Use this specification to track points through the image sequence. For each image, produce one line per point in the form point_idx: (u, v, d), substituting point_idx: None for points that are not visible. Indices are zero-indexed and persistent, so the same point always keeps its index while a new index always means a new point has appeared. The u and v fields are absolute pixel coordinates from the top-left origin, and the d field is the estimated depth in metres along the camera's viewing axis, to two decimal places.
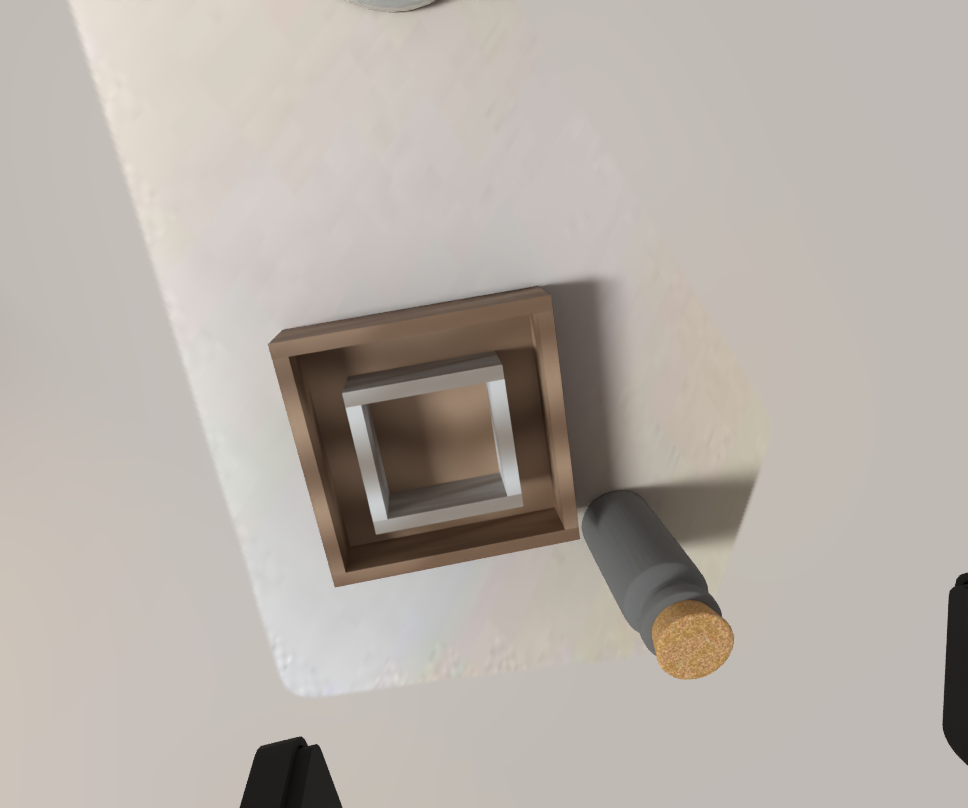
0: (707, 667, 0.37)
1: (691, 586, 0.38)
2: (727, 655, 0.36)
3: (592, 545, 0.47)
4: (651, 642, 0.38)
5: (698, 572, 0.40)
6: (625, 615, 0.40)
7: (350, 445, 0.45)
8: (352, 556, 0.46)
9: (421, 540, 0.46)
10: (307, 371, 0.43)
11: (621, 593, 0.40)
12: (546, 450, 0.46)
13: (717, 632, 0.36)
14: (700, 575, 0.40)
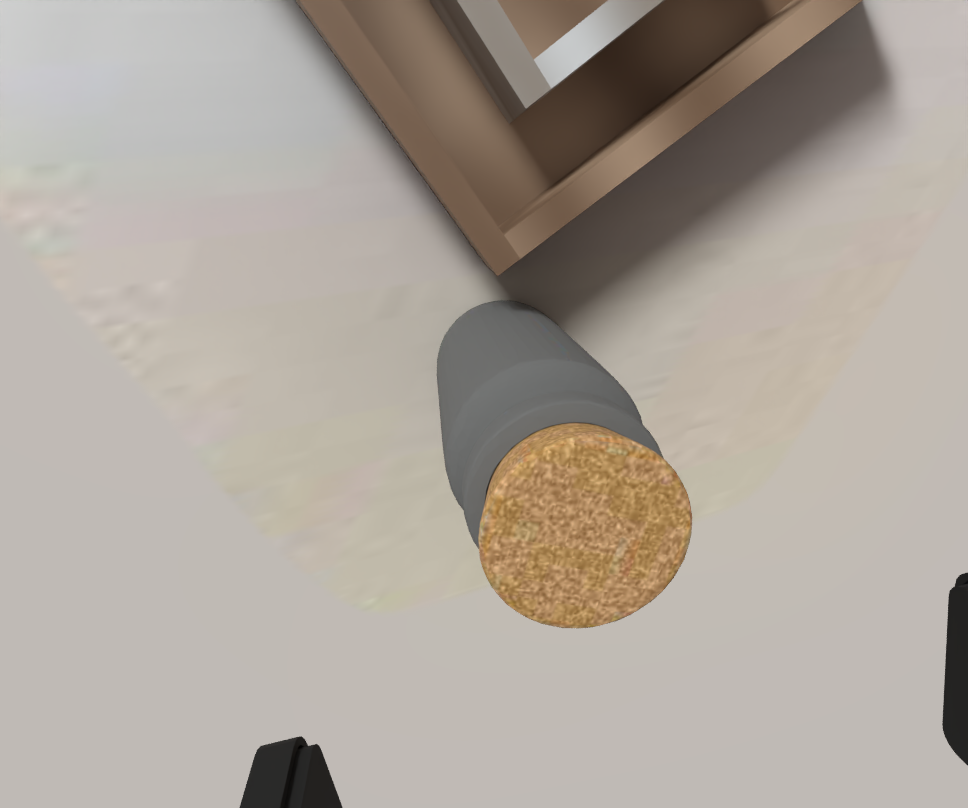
0: (543, 599, 0.14)
1: None
2: (594, 621, 0.14)
3: (478, 321, 0.23)
4: (501, 453, 0.14)
5: None
6: (475, 393, 0.17)
7: None
8: None
9: None
10: None
11: (512, 360, 0.17)
12: (593, 151, 0.24)
13: (649, 560, 0.14)
14: None
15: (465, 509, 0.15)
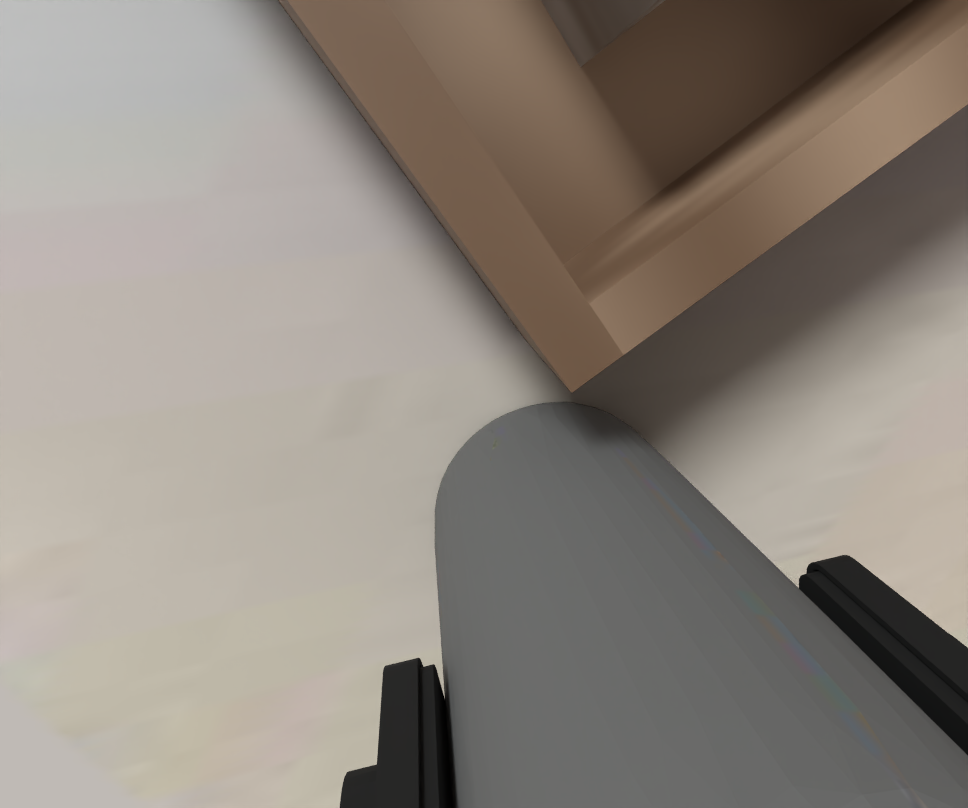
0: None
1: None
2: None
3: (521, 470, 0.11)
4: None
5: None
6: None
7: None
8: None
9: None
10: None
11: (702, 777, 0.05)
12: (743, 125, 0.12)
13: None
14: None
15: None
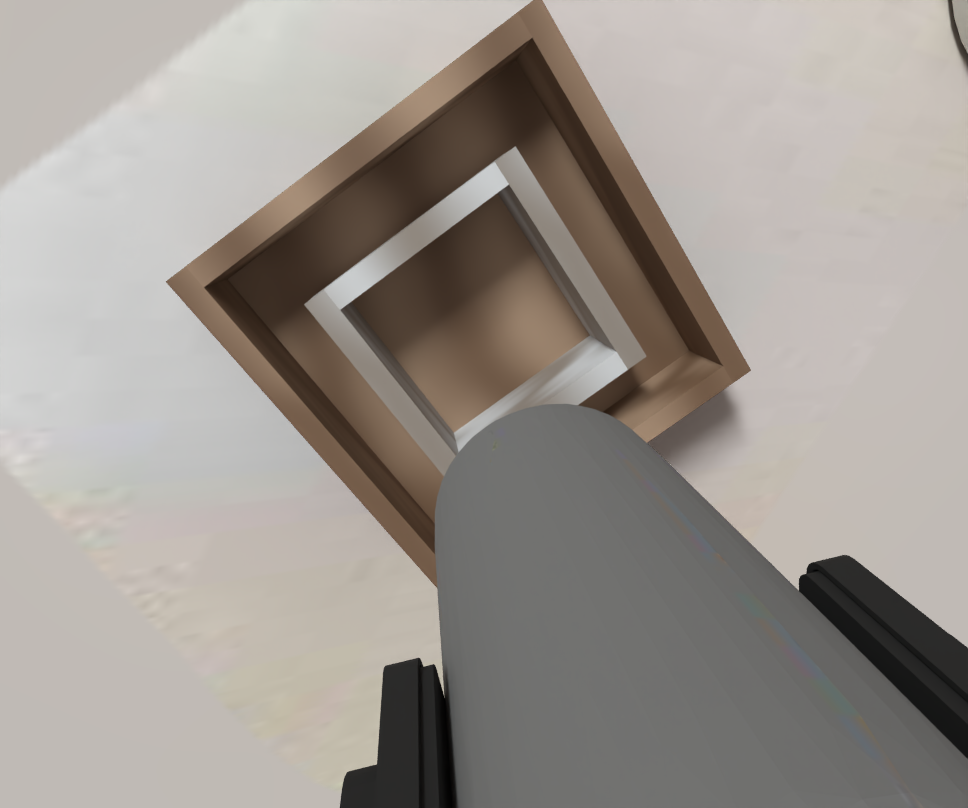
0: None
1: None
2: None
3: (521, 472, 0.11)
4: None
5: None
6: None
7: (396, 205, 0.28)
8: (223, 288, 0.27)
9: (303, 379, 0.28)
10: (482, 91, 0.27)
11: (702, 781, 0.05)
12: None
13: None
14: None
15: None
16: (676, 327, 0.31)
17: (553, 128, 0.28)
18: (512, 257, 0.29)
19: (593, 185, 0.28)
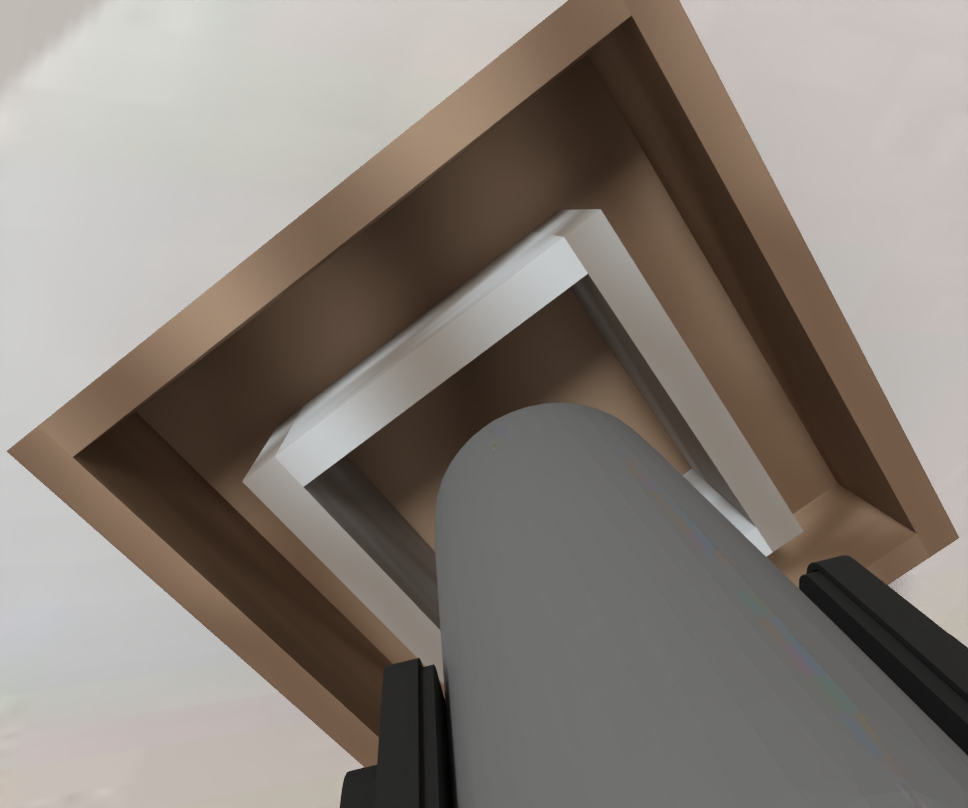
0: None
1: None
2: None
3: (522, 471, 0.11)
4: None
5: None
6: None
7: (396, 291, 0.18)
8: (121, 436, 0.17)
9: (259, 560, 0.18)
10: (531, 107, 0.17)
11: (703, 779, 0.05)
12: None
13: None
14: None
15: None
16: (821, 453, 0.21)
17: (644, 163, 0.17)
18: (577, 361, 0.19)
19: (706, 251, 0.18)
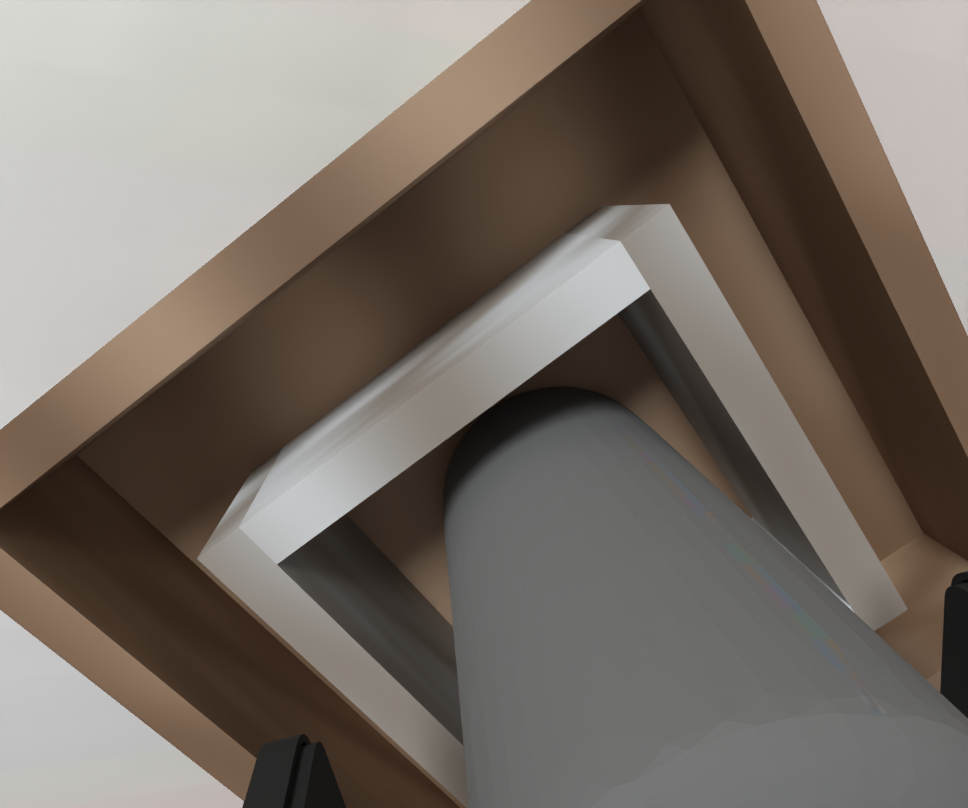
0: None
1: None
2: None
3: (527, 446, 0.12)
4: None
5: None
6: None
7: (397, 306, 0.14)
8: (51, 490, 0.13)
9: (229, 636, 0.15)
10: (567, 76, 0.13)
11: (688, 689, 0.06)
12: None
13: None
14: None
15: None
16: (907, 498, 0.17)
17: (707, 148, 0.14)
18: (618, 391, 0.15)
19: (781, 256, 0.14)
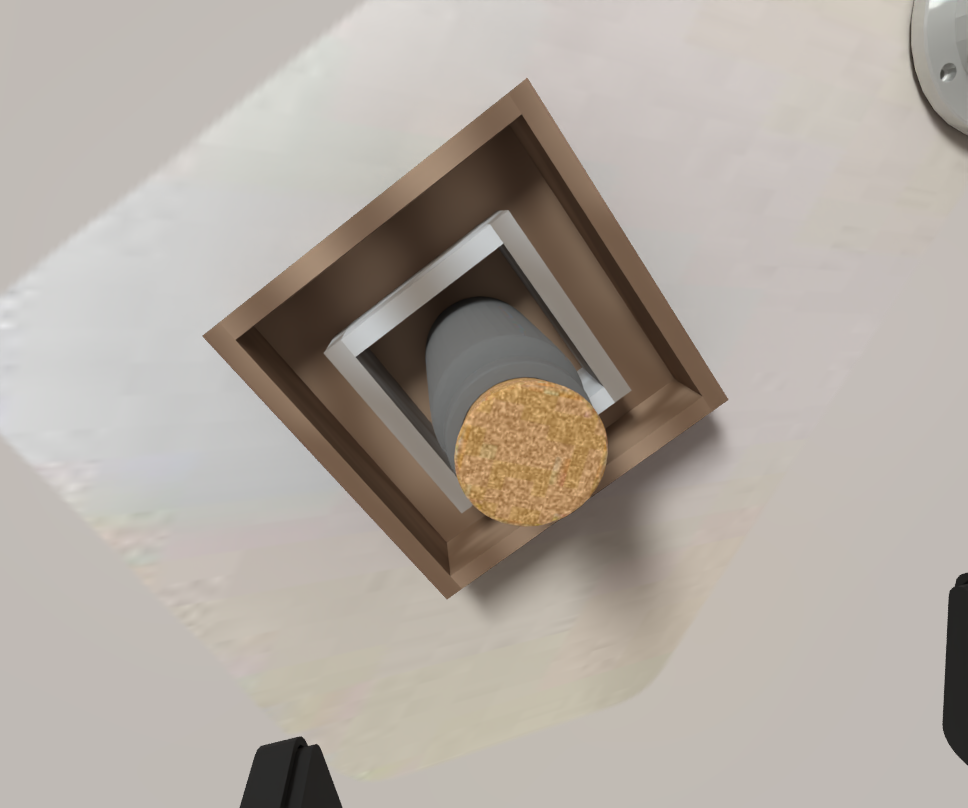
0: (502, 503, 0.19)
1: None
2: (540, 521, 0.19)
3: (459, 312, 0.29)
4: (471, 400, 0.20)
5: None
6: (453, 361, 0.22)
7: (403, 257, 0.31)
8: (251, 336, 0.30)
9: (323, 414, 0.32)
10: (479, 153, 0.30)
11: (482, 336, 0.22)
12: None
13: (578, 474, 0.19)
14: None
15: (445, 443, 0.20)
16: (661, 358, 0.34)
17: (544, 184, 0.31)
18: (509, 299, 0.32)
19: (582, 234, 0.31)
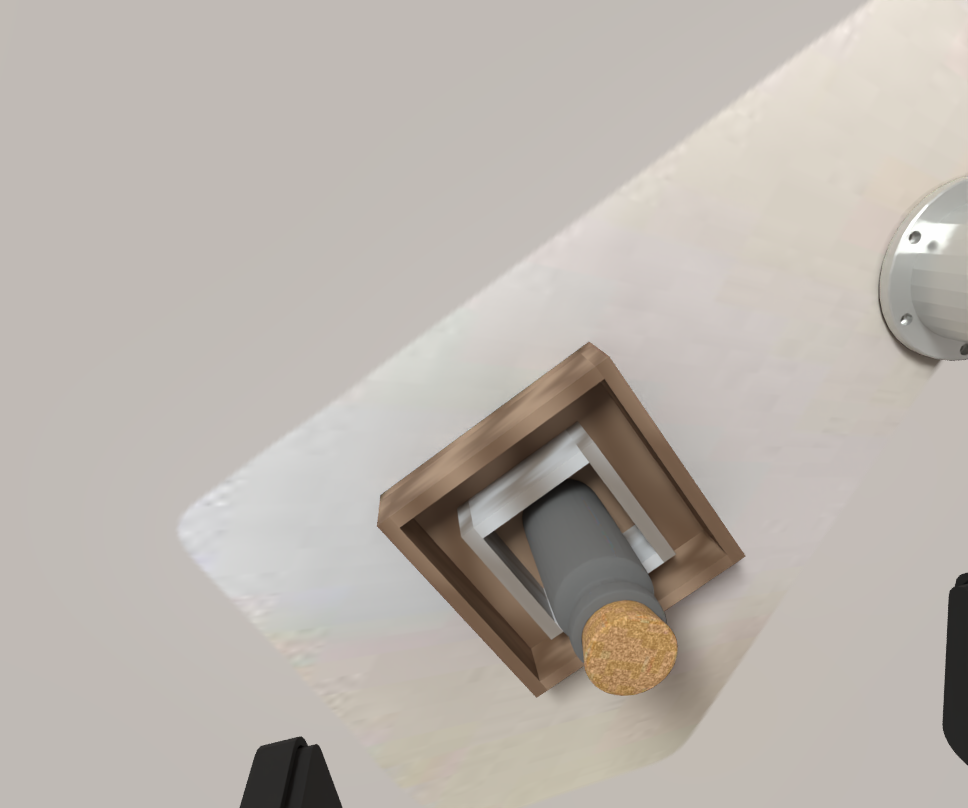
0: (612, 683, 0.30)
1: None
2: (634, 692, 0.31)
3: (554, 503, 0.40)
4: (590, 614, 0.31)
5: None
6: (569, 574, 0.34)
7: (509, 453, 0.42)
8: None
9: (449, 565, 0.43)
10: None
11: (587, 555, 0.34)
12: None
13: (658, 665, 0.30)
14: None
15: (572, 638, 0.32)
16: (695, 516, 0.45)
17: (612, 402, 0.42)
18: (584, 479, 0.44)
19: (639, 436, 0.43)
